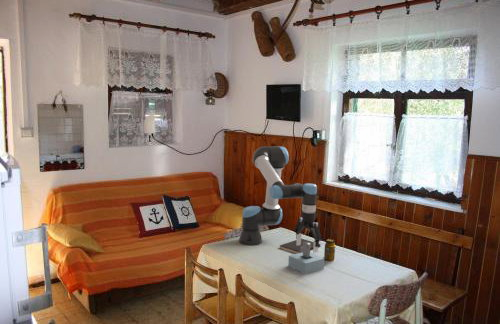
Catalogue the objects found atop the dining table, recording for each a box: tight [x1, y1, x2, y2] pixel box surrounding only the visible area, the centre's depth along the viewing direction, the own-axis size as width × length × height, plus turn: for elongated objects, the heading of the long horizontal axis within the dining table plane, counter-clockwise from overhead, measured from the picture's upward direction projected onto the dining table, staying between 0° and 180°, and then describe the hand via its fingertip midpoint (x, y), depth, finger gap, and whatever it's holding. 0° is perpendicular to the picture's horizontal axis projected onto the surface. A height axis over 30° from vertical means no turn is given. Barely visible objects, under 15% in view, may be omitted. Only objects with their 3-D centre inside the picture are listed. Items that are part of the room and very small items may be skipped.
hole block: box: [287, 252, 325, 275], centre depth 231 cm, size 14×14×6 cm
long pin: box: [303, 242, 311, 260], centre depth 230 cm, size 4×4×14 cm
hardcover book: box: [279, 238, 321, 254], centre depth 265 cm, size 16×23×2 cm
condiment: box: [323, 238, 338, 264], centre depth 244 cm, size 7×8×12 cm
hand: (306, 248), depth 230 cm, fingers open, 13 cm apart
